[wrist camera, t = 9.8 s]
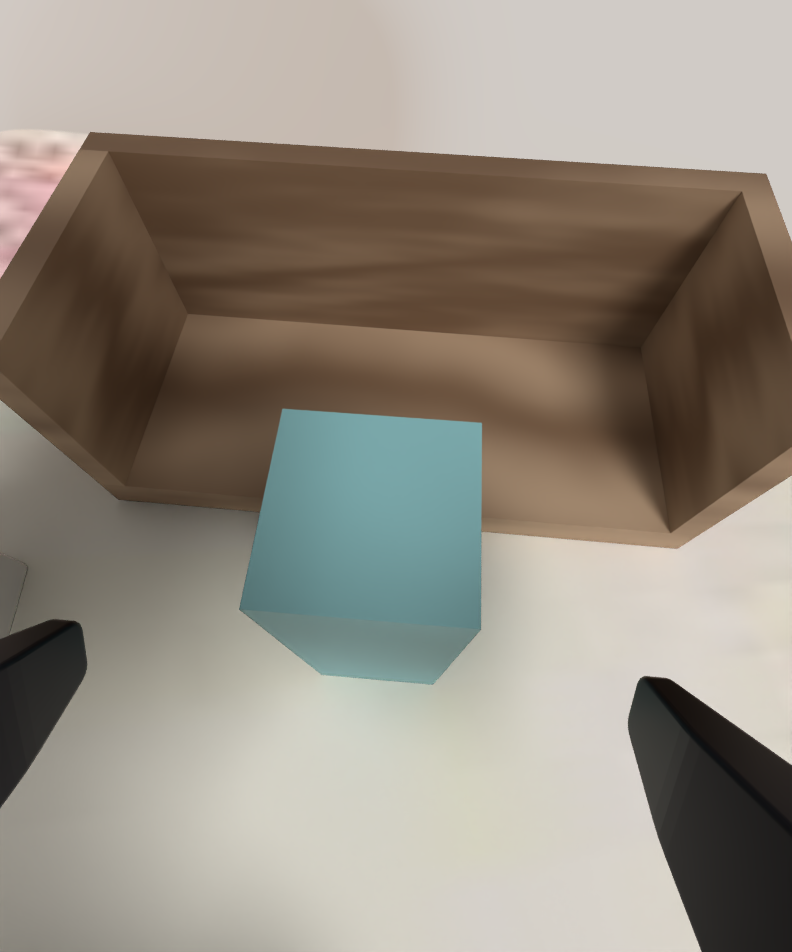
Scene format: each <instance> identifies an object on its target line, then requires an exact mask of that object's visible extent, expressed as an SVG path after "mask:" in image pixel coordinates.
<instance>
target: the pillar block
mask: <svg viewBox="0 0 792 952" xmlns="http://www.w3.org/2000/svg"><path fill="white" fill-rule="evenodd" d="M481 503H482V423H477V422H463V421H449V420H435V419H421V418H407V417H392V416H378V415H364V414H350V413H336V412H322V411H308V410H294V409H282V413H281V418H280V423H279V427H278V432H277V437H276V441H275V446H274V451H273V455H272V460H271V464H270V469H269V474H268V478H267V483H266V488H265V492H264V497H263V501H262V506H261V511H260V515H259V520H258V525H257V529H256V534H255V538H254V543H253V548H252V552H251V557H250V562H249V566H248V571H247V575H246V580H245V585H244V589H243V594H242V599H241V603H240V608H239V610H241V611H242V612H243V613H244V614H246V615H247V616H248V617H249V618H251V619H252V620H253V621H255V622H256V623H257V624H258V625H260V626H261V627H262V628H263V629H265V630H266V631H267V632H268V633H270V634H271V635H272V636H273V637H275V638H276V639H277V640H278V641H280V642H281V643H282V644H284V645H285V646H286V647H287V648H289V649H290V650H291V651H292V652H294V653H295V654H296V655H297V656H299V657H300V658H301V659H302V660H304V661H305V662H306V663H307V664H309V665H310V666H311V667H313V668H314V669H315V670H316V671H318V672H319V673H320V674H321V675H330V676H341V677H353V678H364V679H376V680H387V681H399V682H410V683H422V684H434V683H435V682H436V680H437V679H438V678H439V677H440V676H441V675H442V674H443V672H444V671H445V670H446V669H447V668H448V667H449V666H450V664H451V663H452V662H453V661H454V660H455V659H456V657H457V656H458V655H459V654H460V653H461V652H462V651H463V649H464V648H465V647H466V646H467V645H468V644H469V642H470V641H471V640H472V639H473V638H474V637H475V636H476V634H477V633H478V632H479V631H480V630H481Z"/></svg>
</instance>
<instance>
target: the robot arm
mask: <svg viewBox="0 0 792 952" xmlns="http://www.w3.org/2000/svg"><path fill="white" fill-rule="evenodd" d="M86 670H87V658H86V651H85V644H84V637H83V630H82V627H81V625H80V624H79V623H78V622H76V621H69V620H59V619H52V620H48V621H45V622H43V623H40V624H38V625H35V626H32V627H30V628H27V629H25V630H22V631H19V632H17V633H14V634H11V635H9V636H6V637H4V638H1V639H0V808H1V806H2V805H3V804H4V802H5V801H6V800H7V798H8V797H9V795H10V794H11V793H12V791H13V790H14V789H15V787H16V786H17V784H18V783H19V782H20V780H21V779H22V777H23V776H24V774H25V773H26V772H27V770H28V769H29V767H30V765H31V764H32V762H33V761H34V759H35V758H36V756H37V755H38V753H39V751H40V750H41V748H42V746H43V745H44V743H45V742H46V740H47V738H48V737H49V735H50V733H51V732H52V730H53V728H54V727H55V725H56V723H57V722H58V720H59V718H60V717H61V715H62V713H63V712H64V710H65V709H66V707H67V705H68V704H69V702H70V700H71V699H72V697H73V695H74V694H75V692H76V690H77V689H78V687H79V685H80V684H81V682H82V680H83V678H84V676H85V674H86ZM628 730H629V735H630V739H631V743H632V746H633V750H634V754H635V757H636V761H637V764H638V768H639V772H640V775H641V779H642V782H643V786H644V790H645V793H646V797H647V800H648V804H649V808H650V811H651V815H652V819H653V822H654V825H655V828H656V832H657V835H658V838H659V841H660V844H661V846H662V849H663V852H664V855H665V858H666V860H667V863H668V865H669V868H670V871H671V873H672V876H673V878H674V881H675V884H676V886H677V889H678V891H679V894H680V897H681V899H682V902H683V904H684V907H685V910H686V912H687V915H688V917H689V920H690V923H691V925H692V928H693V930H694V933H695V936H696V938H697V941H698V944H699V946H700V949H701V951H702V952H792V765H791V764H789V763H788V762H786V761H785V760H784V759H782V758H781V757H779V756H778V755H777V754H775V753H774V752H772V751H771V750H770V749H768V748H767V747H765V746H764V745H762V744H761V743H760V742H758V741H757V740H755V739H754V738H753V737H751V736H750V735H748V734H747V733H746V732H744V731H743V730H741V729H740V728H738V727H737V726H736V725H734V724H733V723H731V722H730V721H729V720H727V719H726V718H724V717H723V716H722V715H720V714H719V713H717V712H716V711H714V710H713V709H712V708H710V707H709V706H707V705H706V704H705V703H703V702H702V701H700V700H699V699H698V698H696V697H695V696H693V695H692V694H690V693H689V692H688V691H686V690H685V689H683V688H682V687H681V686H679V685H678V684H676V683H675V682H673V681H672V680H670V679H668V678H661V677H650V676H644V677H642V678H640V680H639V681H638V683H637V687H636V690H635V694H634V698H633V702H632V705H631V709H630V713H629V717H628Z"/></svg>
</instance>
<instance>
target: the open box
mask: <svg viewBox="0 0 792 952" xmlns="http://www.w3.org/2000/svg"><path fill="white" fill-rule="evenodd" d="M0 400H1V401H3V402H4V403H5V404H6V405H7V406H8V407H10V408H11V409H12V410H13V411H14V412H16V413H17V414H18V415H19V416H20V417H21V418H23V419H24V420H25V421H26V422H27V423H29V424H30V425H31V426H32V427H33V428H34V429H36V430H37V431H38V432H39V433H40V434H42V435H43V436H44V437H45V438H46V439H47V440H49V441H50V442H51V443H52V444H53V445H55V446H56V447H57V448H58V449H59V450H60V451H62V452H63V453H64V454H65V455H66V456H68V457H69V458H70V459H71V460H72V461H73V462H75V463H76V464H77V465H78V466H79V467H81V468H82V469H83V470H84V471H85V472H86V473H88V474H89V475H90V476H91V477H92V478H94V479H95V480H96V481H97V482H98V483H99V484H101V485H102V486H103V487H104V488H105V489H107V490H108V491H109V492H110V493H111V494H112V495H114V496H115V497H116V498H117V499H118V500H129V501H141V502H152V503H163V504H175V505H186V506H198V507H209V508H220V509H232V510H243V511H255V512H260V511H261V506H262V501H263V497H264V492H265V488H266V483H267V478H268V474H269V469H270V464H271V460H272V455H273V451H274V446H275V441H276V437H277V432H278V427H279V423H280V418H281V413H282V409H294V410H308V411H322V412H336V413H350V414H364V415H378V416H392V417H407V418H421V419H435V420H449V421H463V422H477V423H482V503H481V531H482V532H494V533H505V534H517V535H528V536H539V537H551V538H562V539H574V540H585V541H596V542H608V543H619V544H631V545H642V546H653V547H665V548H676V549H678V548H679V547H681V546H682V545H684V544H686V543H687V542H689V541H690V540H692V539H693V538H695V537H696V536H698V535H700V534H701V533H703V532H704V531H706V530H707V529H709V528H710V527H712V526H714V525H715V524H717V523H718V522H720V521H721V520H723V519H724V518H726V517H728V516H729V515H731V514H732V513H734V512H735V511H737V510H739V509H740V508H742V507H743V506H745V505H746V504H748V503H749V502H751V501H753V500H754V499H756V498H757V497H759V496H760V495H762V494H763V493H765V492H767V491H768V490H770V489H771V488H773V487H774V486H776V485H777V484H779V483H781V482H782V481H784V480H785V479H787V478H788V477H790V476H792V241H791V239H790V236H789V233H788V231H787V228H786V225H785V223H784V220H783V217H782V215H781V212H780V209H779V207H778V204H777V201H776V199H775V196H774V193H773V191H772V188H771V186H770V183H769V180H768V177H767V175H766V174H760V173H743V172H727V171H711V170H695V169H678V168H663V167H646V166H630V165H614V164H597V163H580V162H566V161H565V162H564V161H549V160H533V159H517V158H500V157H485V156H468V155H452V154H451V155H450V154H436V153H435V154H434V153H419V152H403V151H387V150H386V151H385V150H371V149H355V148H354V149H353V148H338V147H322V146H306V145H290V144H273V143H258V142H241V141H225V140H224V141H223V140H209V139H193V138H176V137H159V136H144V135H128V134H111V133H95V132H90V133H89V135H88V137H87V138H86V140H85V141H84V143H83V145H82V146H81V148H80V150H79V151H78V153H77V154H76V156H75V158H74V159H73V161H72V163H71V164H70V166H69V168H68V169H67V171H66V172H65V174H64V176H63V177H62V179H61V181H60V182H59V184H58V186H57V187H56V189H55V190H54V192H53V194H52V195H51V197H50V199H49V200H48V202H47V204H46V205H45V207H44V208H43V210H42V212H41V213H40V215H39V217H38V218H37V220H36V222H35V223H34V225H33V226H32V228H31V230H30V231H29V233H28V235H27V236H26V238H25V240H24V241H23V243H22V244H21V246H20V248H19V249H18V251H17V253H16V254H15V256H14V258H13V259H12V261H11V262H10V264H9V266H8V267H7V269H6V271H5V272H4V274H3V276H2V277H1V279H0Z"/></svg>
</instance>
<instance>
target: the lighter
mask: <svg viewBox="0 0 792 952" xmlns="http://www.w3.org/2000/svg"><path fill="white" fill-rule="evenodd" d="M27 569H28V567H27V566H26V565H25V564H24V563H22V562H20V561H18V560H16V559H14V558H11V557H9V556H7V555H5V554H3V553H1V552H0V639H1V638H4V637H6V636H9V633H10V629H11V626H12V622H13V619H14V615H15V612H16V608H17V604H18V601H19V597H20V594H21V590H22V587H23V583H24V579H25V576H26V572H27Z"/></svg>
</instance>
